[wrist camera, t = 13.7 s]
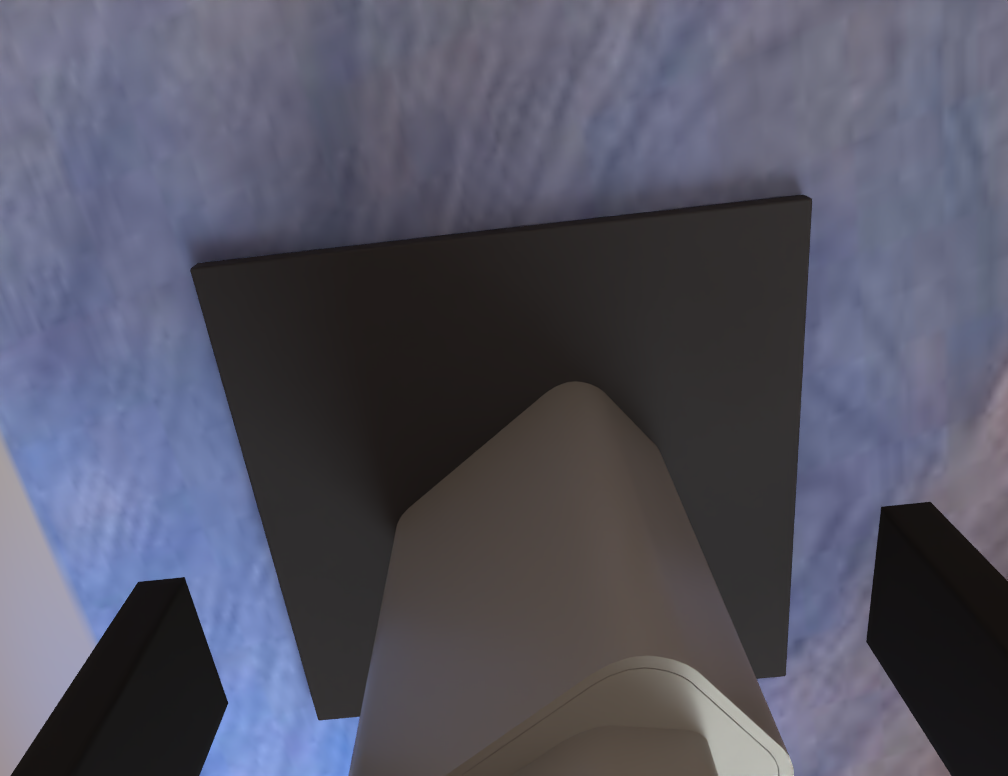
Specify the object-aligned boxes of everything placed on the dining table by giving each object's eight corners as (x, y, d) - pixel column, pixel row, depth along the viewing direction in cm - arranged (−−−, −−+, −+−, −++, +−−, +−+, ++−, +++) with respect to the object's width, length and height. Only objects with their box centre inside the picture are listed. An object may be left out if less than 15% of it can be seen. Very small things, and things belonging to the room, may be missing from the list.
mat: (196, 261, 14) (188, 268, 13) (804, 193, 14) (813, 197, 13) (321, 708, 18) (317, 721, 18) (780, 663, 18) (786, 676, 18)
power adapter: (679, 469, 15) (1160, 1533, 4) (483, 617, 17) (475, 1697, 6) (578, 365, 14) (869, 1395, 3) (380, 531, 16) (134, 1631, 5)
